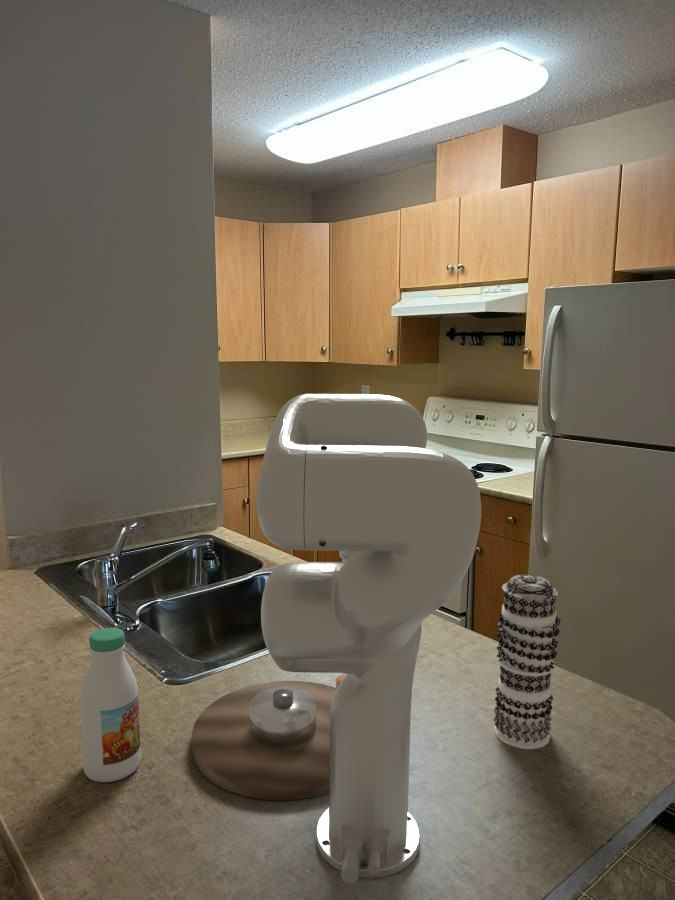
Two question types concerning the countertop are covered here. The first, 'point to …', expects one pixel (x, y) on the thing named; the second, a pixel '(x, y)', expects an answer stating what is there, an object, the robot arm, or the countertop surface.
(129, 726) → the milk bottle
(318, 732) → the turntable
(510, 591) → the decorative candle
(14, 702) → the countertop surface
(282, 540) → the robot arm
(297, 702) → the lid
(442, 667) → the countertop surface
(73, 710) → the countertop surface
